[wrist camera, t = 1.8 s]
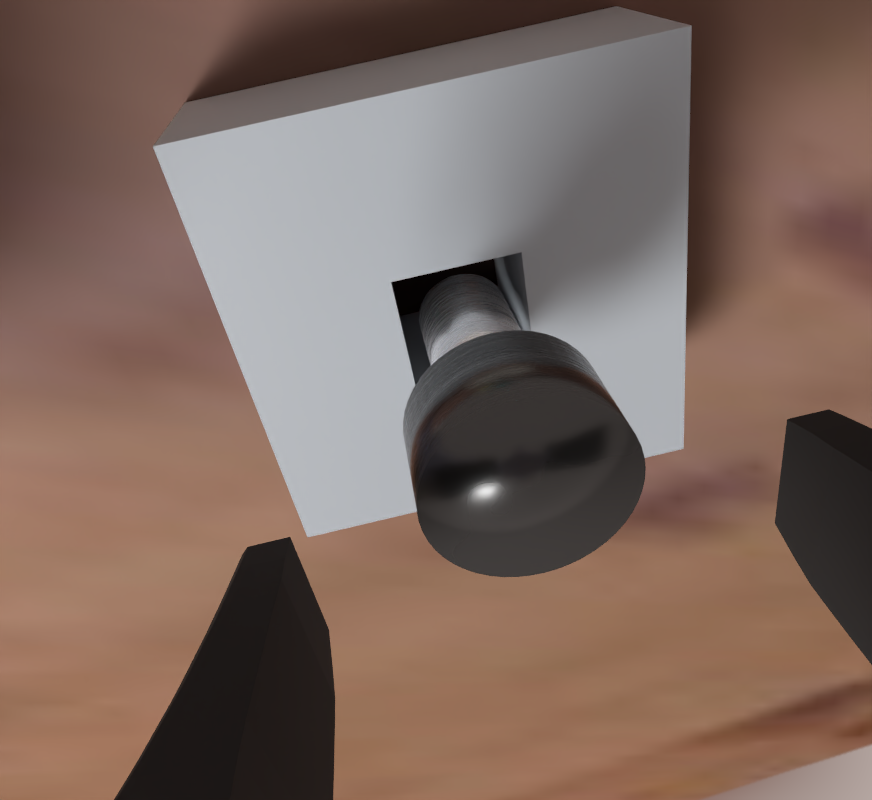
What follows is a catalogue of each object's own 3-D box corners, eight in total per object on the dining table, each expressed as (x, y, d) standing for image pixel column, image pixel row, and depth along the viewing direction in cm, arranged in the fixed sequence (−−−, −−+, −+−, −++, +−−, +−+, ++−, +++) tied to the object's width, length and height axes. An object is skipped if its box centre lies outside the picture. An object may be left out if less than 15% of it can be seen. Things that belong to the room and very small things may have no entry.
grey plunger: (401, 397, 17) (438, 597, 12) (366, 259, 15) (394, 429, 10) (547, 364, 17) (647, 548, 12) (532, 221, 15) (643, 370, 10)
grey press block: (308, 446, 22) (307, 537, 19) (184, 102, 16) (153, 147, 13) (628, 372, 22) (683, 448, 19) (616, 5, 16) (691, 25, 13)
